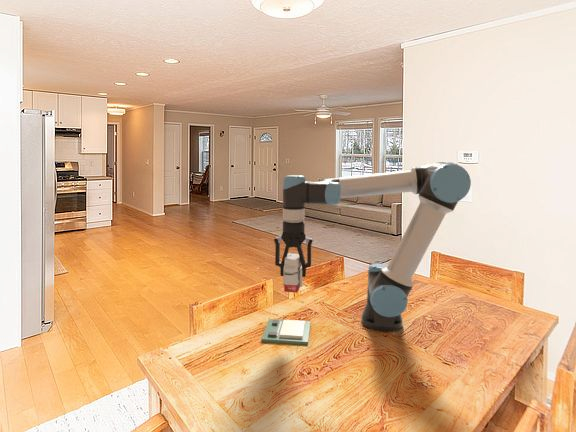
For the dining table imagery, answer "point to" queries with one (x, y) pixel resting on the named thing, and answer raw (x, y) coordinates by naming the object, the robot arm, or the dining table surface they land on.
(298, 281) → the ink box
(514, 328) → the dining table surface
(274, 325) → the board
